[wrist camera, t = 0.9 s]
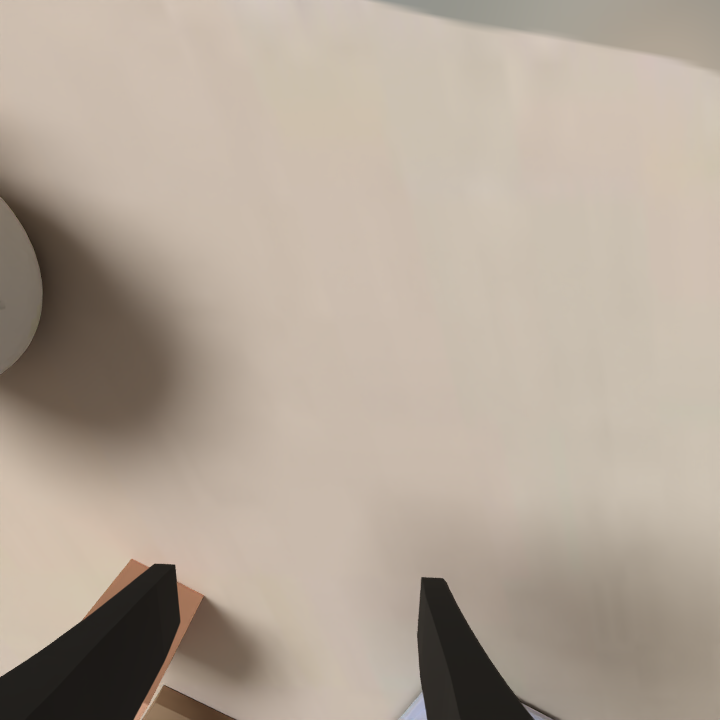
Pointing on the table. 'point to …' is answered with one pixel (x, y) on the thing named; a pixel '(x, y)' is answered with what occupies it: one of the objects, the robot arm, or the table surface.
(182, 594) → the block
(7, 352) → the teacup
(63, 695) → the robot arm
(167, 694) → the board
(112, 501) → the table surface
